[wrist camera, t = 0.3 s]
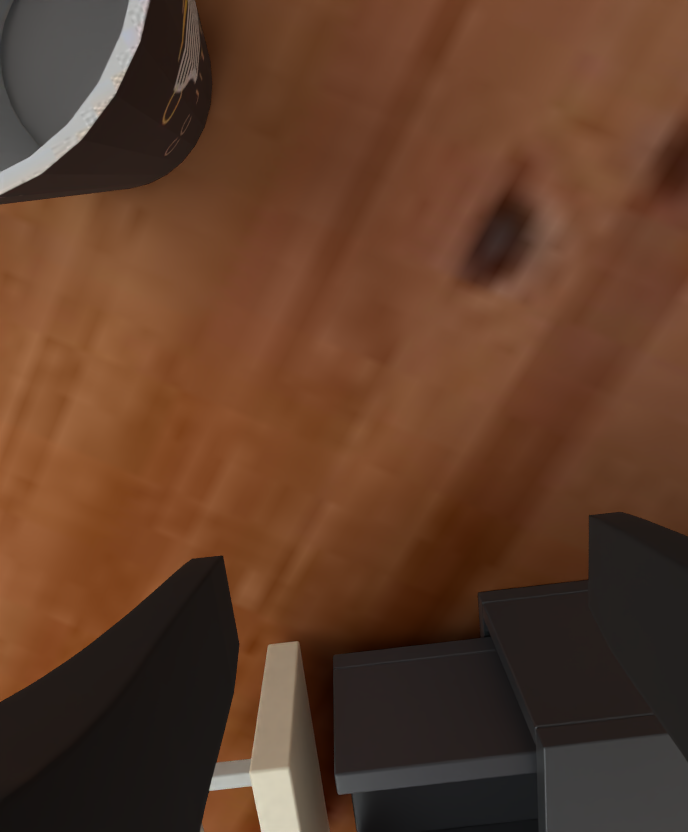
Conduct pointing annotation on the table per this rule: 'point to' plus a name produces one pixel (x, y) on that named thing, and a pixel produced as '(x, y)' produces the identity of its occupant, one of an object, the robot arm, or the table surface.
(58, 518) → the table surface
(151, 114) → the coffee mug
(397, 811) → the drawer
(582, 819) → the small cabinet
